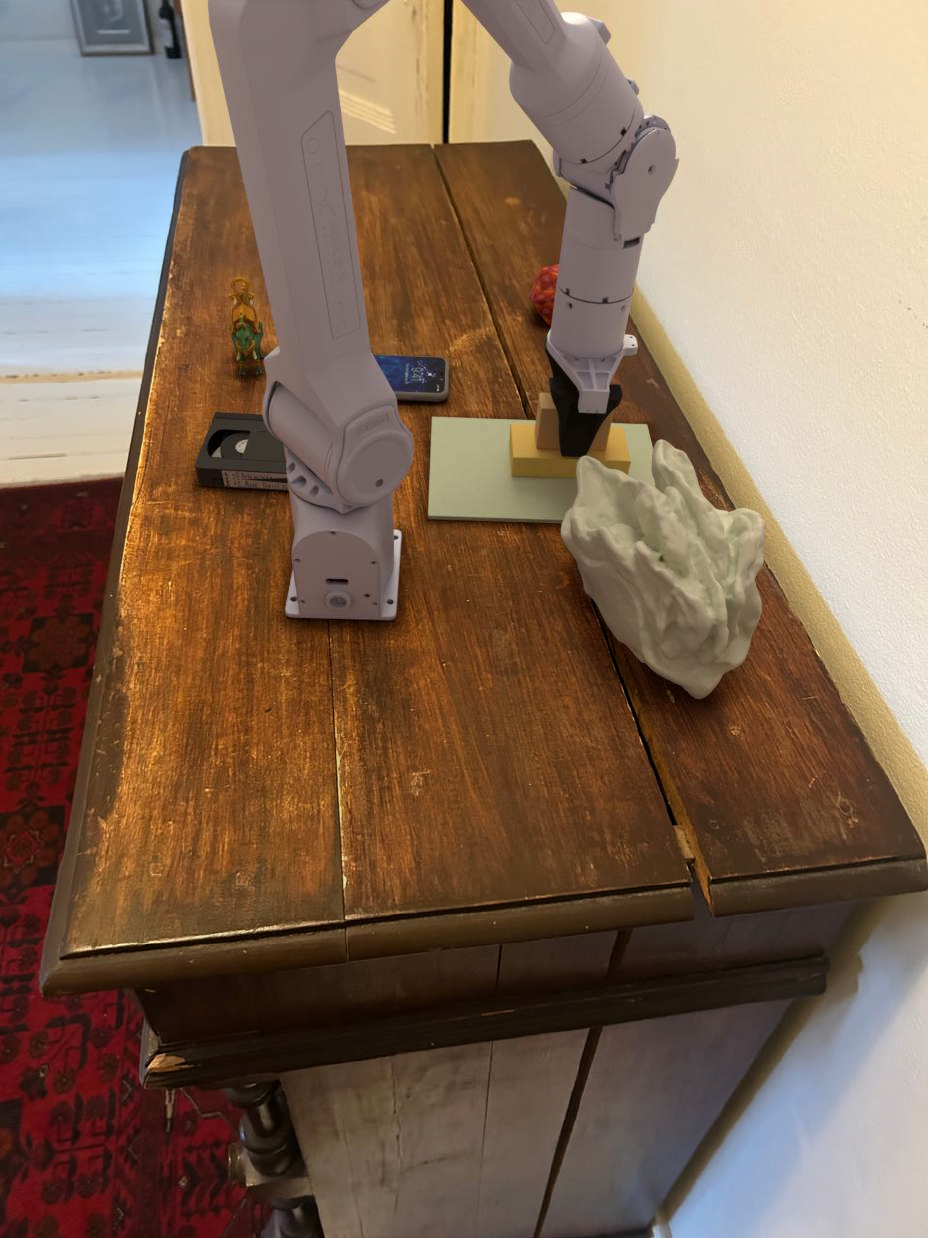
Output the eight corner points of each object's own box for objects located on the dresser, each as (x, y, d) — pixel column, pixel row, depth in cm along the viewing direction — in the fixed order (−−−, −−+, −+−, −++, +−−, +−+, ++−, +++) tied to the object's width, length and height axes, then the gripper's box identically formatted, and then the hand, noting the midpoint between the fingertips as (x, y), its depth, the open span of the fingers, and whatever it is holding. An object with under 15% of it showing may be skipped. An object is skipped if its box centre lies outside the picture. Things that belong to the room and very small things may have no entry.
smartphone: (297, 349, 86) (449, 355, 86) (298, 358, 86) (449, 364, 87) (286, 389, 80) (448, 395, 81) (287, 398, 81) (448, 404, 82)
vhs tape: (197, 486, 72) (193, 466, 71) (219, 430, 78) (215, 411, 76) (368, 495, 72) (367, 476, 71) (378, 439, 78) (377, 420, 76)
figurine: (233, 392, 82) (219, 311, 76) (236, 328, 90) (223, 249, 84) (267, 390, 82) (255, 309, 76) (266, 326, 90) (256, 249, 84)
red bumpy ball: (562, 322, 98) (606, 325, 92) (512, 325, 95) (553, 329, 89) (563, 261, 96) (608, 260, 89) (512, 262, 93) (554, 261, 86)
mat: (670, 527, 71) (672, 523, 71) (427, 519, 71) (427, 515, 70) (646, 427, 81) (647, 424, 81) (431, 419, 80) (431, 416, 80)
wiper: (626, 480, 75) (640, 421, 70) (511, 476, 74) (517, 416, 70) (619, 445, 78) (632, 387, 74) (508, 441, 78) (514, 382, 73)
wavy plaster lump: (580, 638, 71) (543, 455, 66) (739, 605, 70) (716, 416, 64) (609, 757, 55) (563, 527, 49) (818, 718, 54) (797, 476, 48)
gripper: (664, 337, 60) (627, 492, 70) (635, 244, 69) (607, 392, 79) (561, 333, 59) (540, 489, 69) (547, 240, 69) (530, 389, 79)
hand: (570, 437), depth 74 cm, fingers open, 4 cm apart
